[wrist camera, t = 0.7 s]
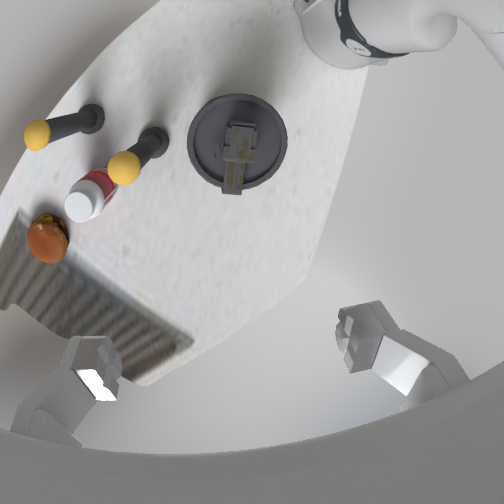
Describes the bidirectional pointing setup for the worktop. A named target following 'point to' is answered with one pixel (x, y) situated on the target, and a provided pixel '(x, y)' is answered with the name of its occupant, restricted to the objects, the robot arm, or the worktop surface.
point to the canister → (237, 142)
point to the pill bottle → (90, 195)
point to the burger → (48, 239)
